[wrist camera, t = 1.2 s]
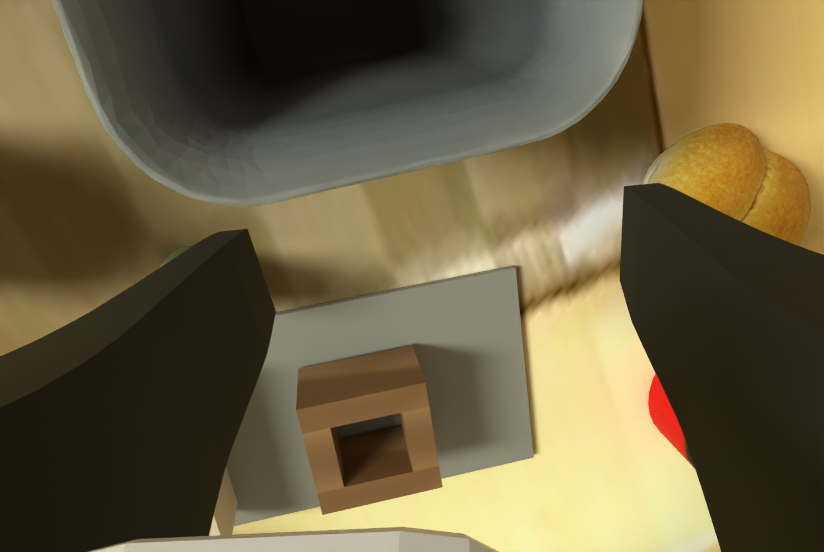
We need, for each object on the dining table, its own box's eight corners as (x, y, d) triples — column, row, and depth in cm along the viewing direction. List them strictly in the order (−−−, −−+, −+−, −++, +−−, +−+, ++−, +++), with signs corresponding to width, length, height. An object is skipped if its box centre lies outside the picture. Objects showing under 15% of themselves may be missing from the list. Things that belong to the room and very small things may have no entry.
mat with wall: (531, 453, 36) (559, 503, 32) (218, 524, 34) (205, 587, 30) (513, 265, 32) (543, 295, 27) (155, 336, 30) (130, 379, 26)
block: (428, 440, 33) (442, 487, 30) (321, 463, 33) (322, 514, 29) (412, 345, 31) (425, 382, 28) (298, 368, 31) (295, 410, 27)
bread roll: (689, 95, 30) (742, 100, 27) (804, 184, 33) (867, 199, 29) (594, 234, 32) (631, 256, 28) (710, 307, 35) (758, 336, 31)
